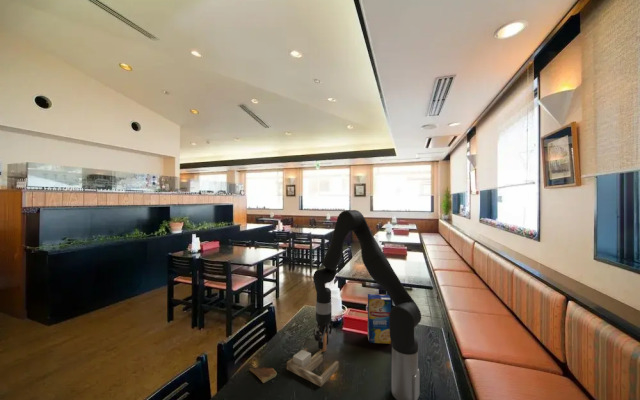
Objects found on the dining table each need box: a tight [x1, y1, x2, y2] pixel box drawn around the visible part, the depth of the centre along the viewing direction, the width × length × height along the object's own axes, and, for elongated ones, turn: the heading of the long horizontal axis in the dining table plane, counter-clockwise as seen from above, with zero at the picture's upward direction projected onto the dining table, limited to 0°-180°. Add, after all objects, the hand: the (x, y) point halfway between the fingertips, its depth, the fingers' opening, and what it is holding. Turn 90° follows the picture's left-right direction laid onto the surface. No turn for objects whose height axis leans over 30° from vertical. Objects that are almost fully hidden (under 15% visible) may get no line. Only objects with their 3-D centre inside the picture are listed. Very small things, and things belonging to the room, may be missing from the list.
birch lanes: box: [286, 347, 340, 388], centre depth 106 cm, size 18×13×3 cm
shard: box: [249, 367, 278, 384], centre depth 104 cm, size 11×8×2 cm
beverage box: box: [367, 293, 392, 345], centre depth 130 cm, size 7×11×22 cm, turn 85°
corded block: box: [292, 332, 328, 368], centre depth 113 cm, size 5×20×8 cm, turn 145°
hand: (323, 346), depth 120 cm, fingers open, 3 cm apart
